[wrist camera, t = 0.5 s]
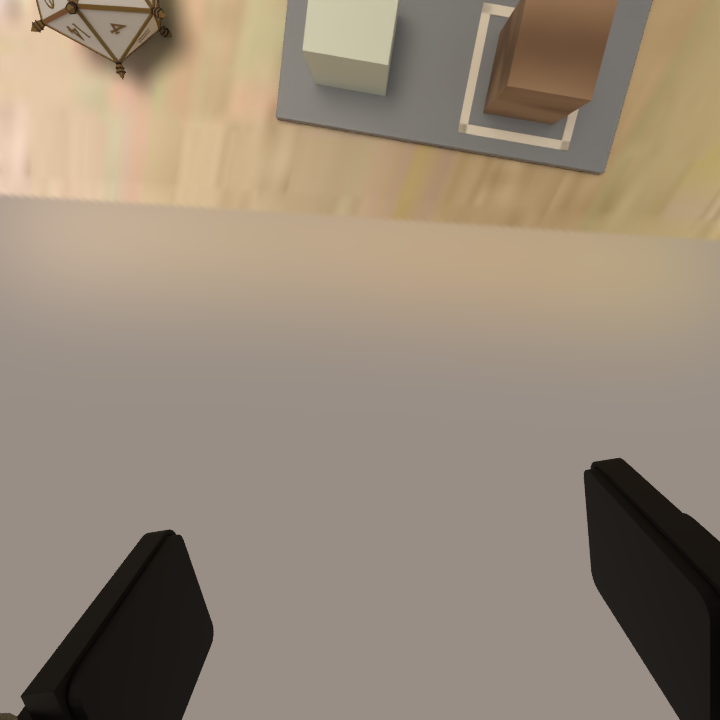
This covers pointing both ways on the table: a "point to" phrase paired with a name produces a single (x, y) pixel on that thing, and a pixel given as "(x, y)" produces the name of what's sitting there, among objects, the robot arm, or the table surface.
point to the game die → (104, 24)
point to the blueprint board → (462, 86)
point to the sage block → (350, 43)
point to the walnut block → (548, 58)
